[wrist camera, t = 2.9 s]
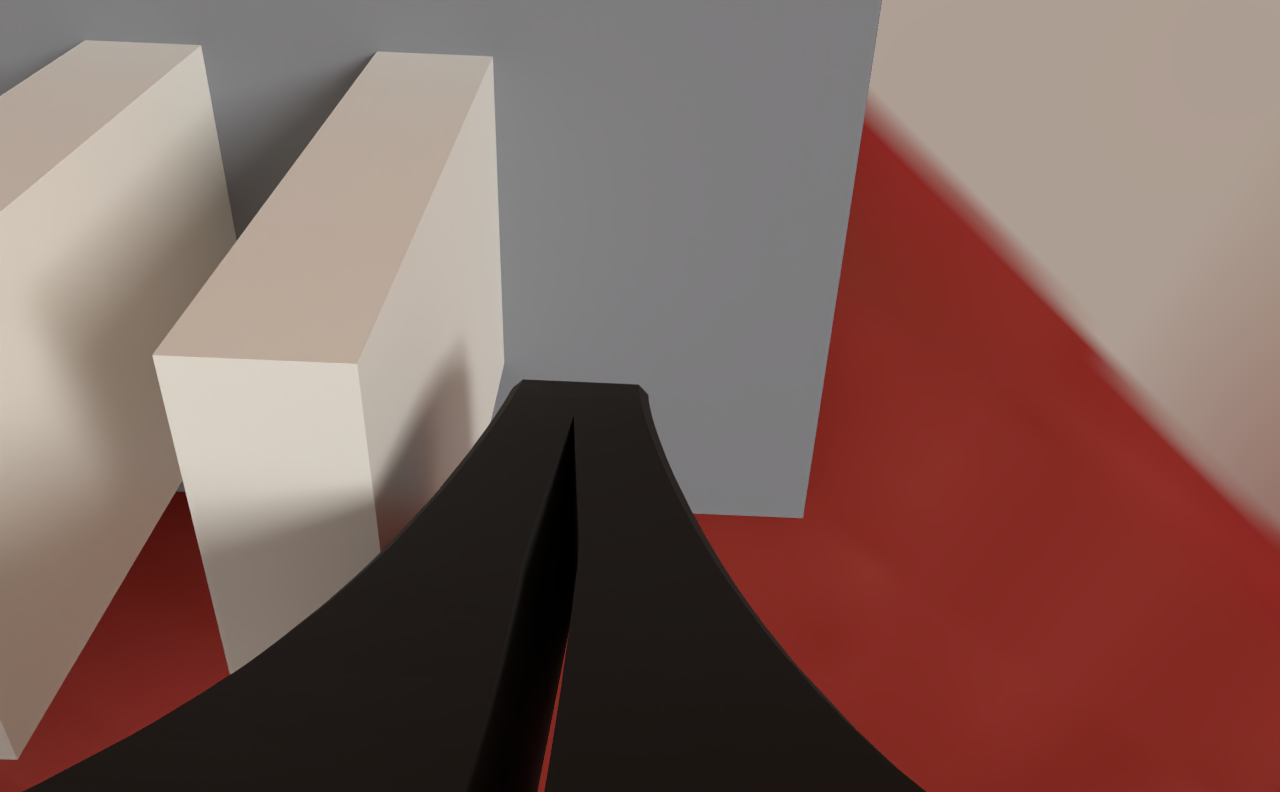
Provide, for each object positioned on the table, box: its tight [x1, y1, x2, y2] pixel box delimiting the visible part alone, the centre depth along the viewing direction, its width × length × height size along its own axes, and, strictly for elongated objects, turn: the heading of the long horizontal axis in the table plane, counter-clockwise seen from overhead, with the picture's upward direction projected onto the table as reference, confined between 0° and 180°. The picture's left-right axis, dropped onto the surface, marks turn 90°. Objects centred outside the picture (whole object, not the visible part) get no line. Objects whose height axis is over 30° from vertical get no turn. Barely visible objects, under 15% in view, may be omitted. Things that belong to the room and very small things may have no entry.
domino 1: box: [0, 40, 237, 760], centre depth 13 cm, size 2×5×8 cm, turn 178°
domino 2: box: [152, 51, 504, 674], centre depth 13 cm, size 2×5×8 cm, turn 178°
